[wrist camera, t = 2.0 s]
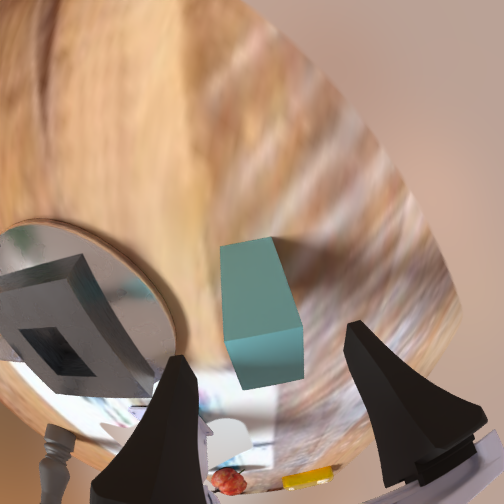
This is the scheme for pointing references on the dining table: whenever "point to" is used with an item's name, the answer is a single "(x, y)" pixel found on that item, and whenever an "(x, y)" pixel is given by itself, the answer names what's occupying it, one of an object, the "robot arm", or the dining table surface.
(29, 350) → the rosette bracket
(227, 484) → the pomegranate
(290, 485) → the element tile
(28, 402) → the dining table surface
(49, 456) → the candle holder
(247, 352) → the teal rectangular prism
